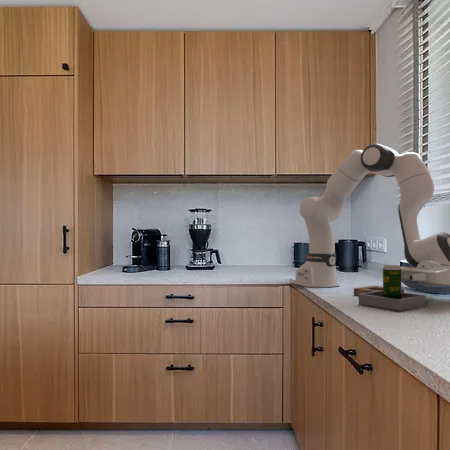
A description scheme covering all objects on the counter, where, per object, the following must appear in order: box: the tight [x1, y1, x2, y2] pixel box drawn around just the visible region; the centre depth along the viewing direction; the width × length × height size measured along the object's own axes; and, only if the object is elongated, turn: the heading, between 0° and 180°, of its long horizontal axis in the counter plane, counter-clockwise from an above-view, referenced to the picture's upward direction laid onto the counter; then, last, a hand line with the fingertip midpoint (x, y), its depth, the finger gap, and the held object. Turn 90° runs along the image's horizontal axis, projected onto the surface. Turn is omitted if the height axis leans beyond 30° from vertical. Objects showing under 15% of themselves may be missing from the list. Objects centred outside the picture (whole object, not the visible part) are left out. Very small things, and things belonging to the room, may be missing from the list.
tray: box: [358, 290, 427, 313], centre depth 118 cm, size 14×14×4 cm
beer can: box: [382, 264, 403, 299], centre depth 118 cm, size 5×5×12 cm
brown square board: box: [353, 285, 405, 297], centre depth 137 cm, size 12×12×2 cm
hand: (399, 275), depth 119 cm, fingers open, 8 cm apart
